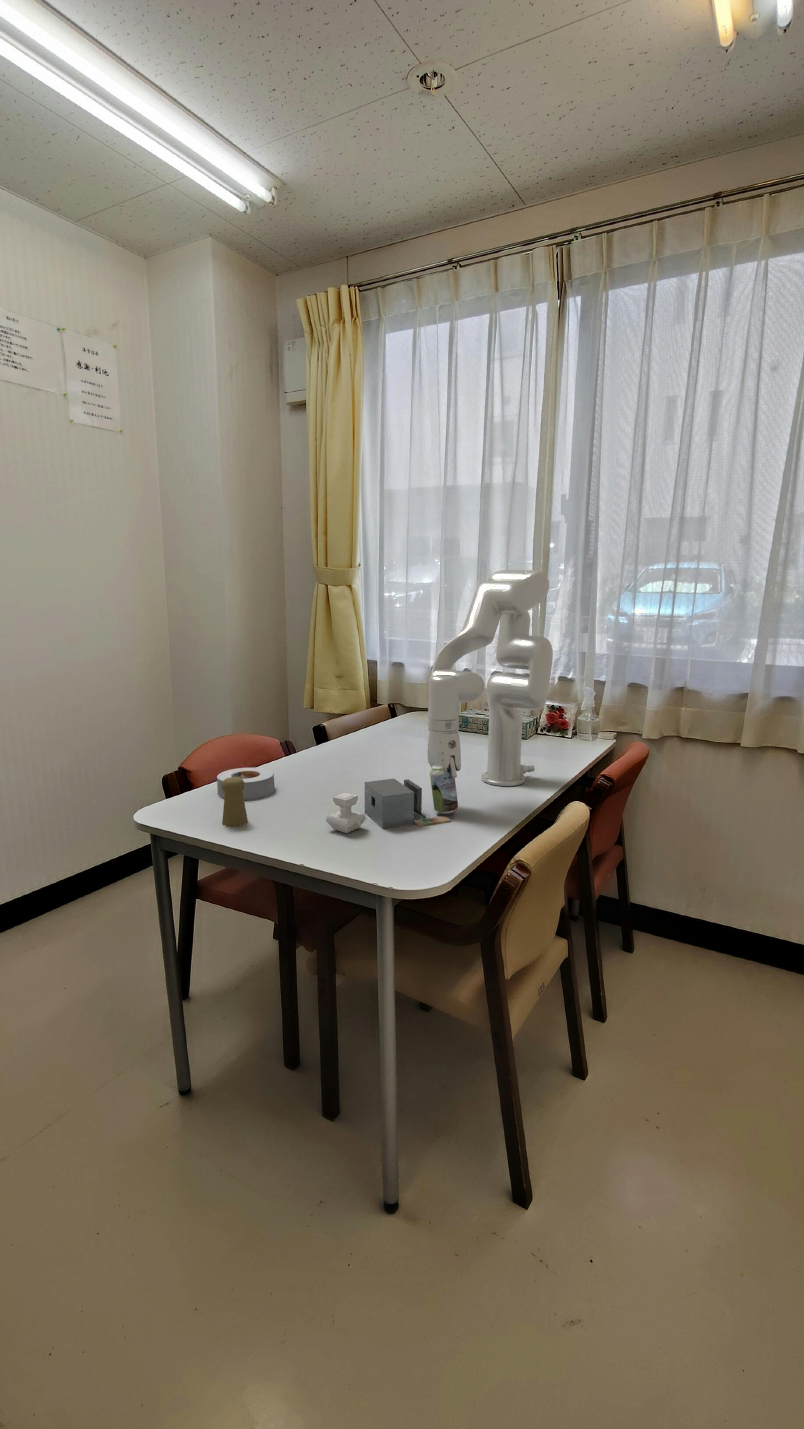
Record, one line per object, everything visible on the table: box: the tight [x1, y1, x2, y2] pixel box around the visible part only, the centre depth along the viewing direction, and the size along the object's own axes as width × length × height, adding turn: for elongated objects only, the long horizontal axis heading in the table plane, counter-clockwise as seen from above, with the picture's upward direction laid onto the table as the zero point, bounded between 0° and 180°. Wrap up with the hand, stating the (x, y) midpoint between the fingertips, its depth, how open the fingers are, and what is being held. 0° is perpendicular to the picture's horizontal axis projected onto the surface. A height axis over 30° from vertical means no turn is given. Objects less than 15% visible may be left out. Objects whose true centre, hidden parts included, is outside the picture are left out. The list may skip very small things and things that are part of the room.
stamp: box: [325, 792, 367, 834], centre depth 153 cm, size 9×7×8 cm
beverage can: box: [429, 766, 459, 814], centre depth 163 cm, size 6×7×12 cm
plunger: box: [403, 778, 427, 819], centre depth 159 cm, size 9×11×6 cm
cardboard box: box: [414, 815, 452, 827], centre depth 158 cm, size 8×3×1 cm, turn 114°
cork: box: [222, 777, 249, 828], centre depth 157 cm, size 6×6×11 cm
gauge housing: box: [364, 778, 415, 830], centre depth 160 cm, size 8×12×8 cm, turn 24°
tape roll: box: [216, 767, 275, 801], centre depth 181 cm, size 15×15×5 cm
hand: (442, 795), depth 166 cm, fingers closed on beverage can, 2 cm apart
